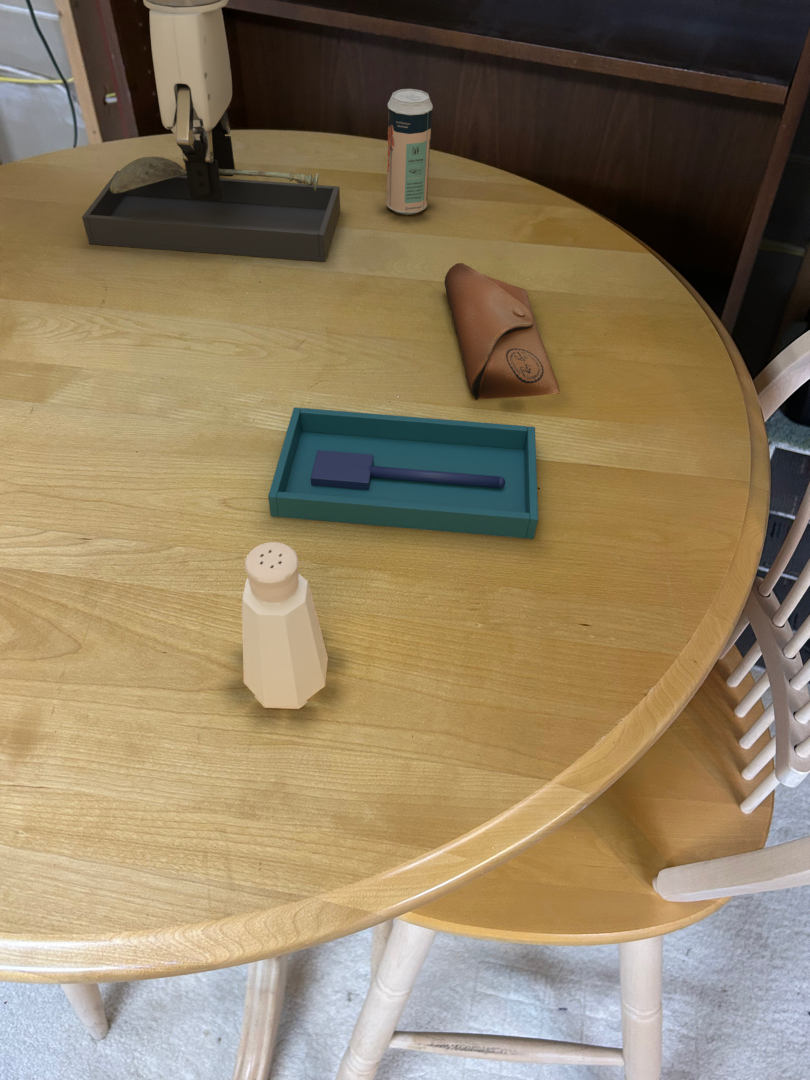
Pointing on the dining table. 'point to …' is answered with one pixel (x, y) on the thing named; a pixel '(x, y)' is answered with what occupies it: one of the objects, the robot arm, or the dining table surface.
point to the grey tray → (219, 219)
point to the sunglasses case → (497, 337)
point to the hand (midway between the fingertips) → (213, 184)
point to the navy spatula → (383, 473)
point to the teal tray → (417, 449)
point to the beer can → (408, 150)
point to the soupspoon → (181, 174)
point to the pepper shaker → (280, 630)
